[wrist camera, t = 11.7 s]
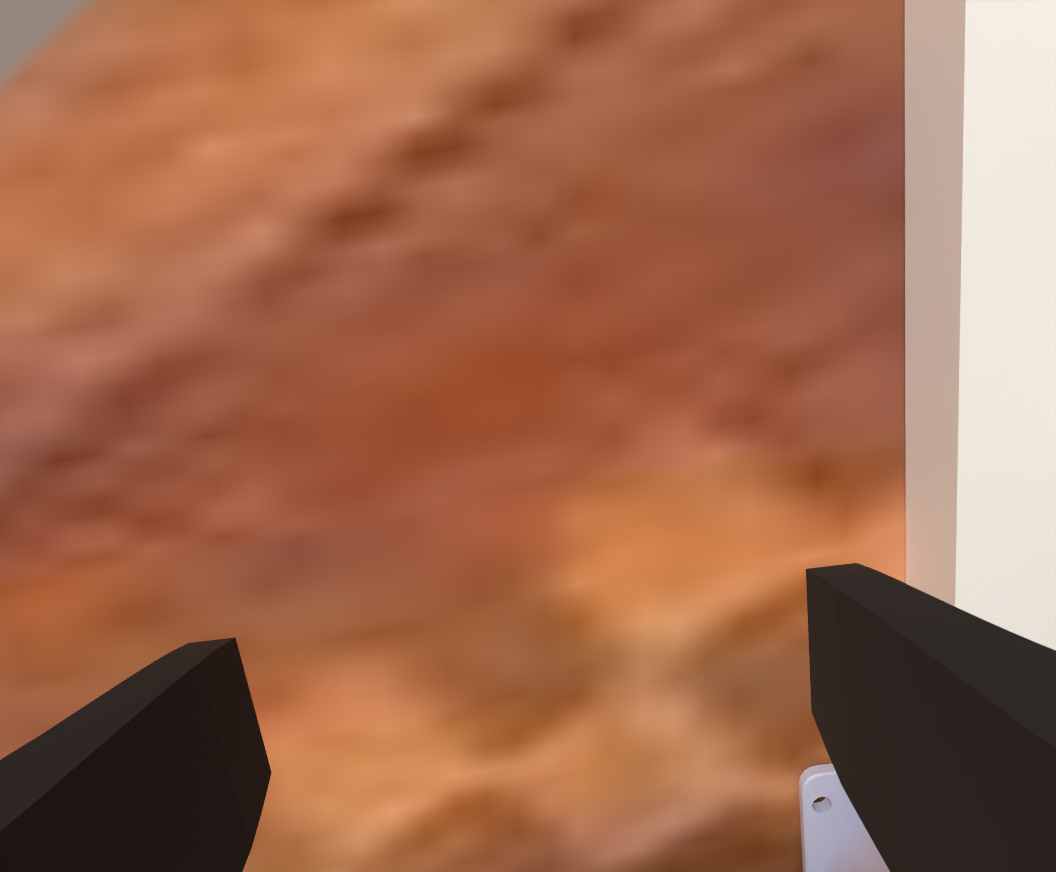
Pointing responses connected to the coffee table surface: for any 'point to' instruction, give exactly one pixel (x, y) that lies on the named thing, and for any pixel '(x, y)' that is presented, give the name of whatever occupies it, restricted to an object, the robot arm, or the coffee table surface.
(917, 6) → the dock
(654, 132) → the coffee table surface
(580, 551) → the coffee table surface
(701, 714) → the coffee table surface
